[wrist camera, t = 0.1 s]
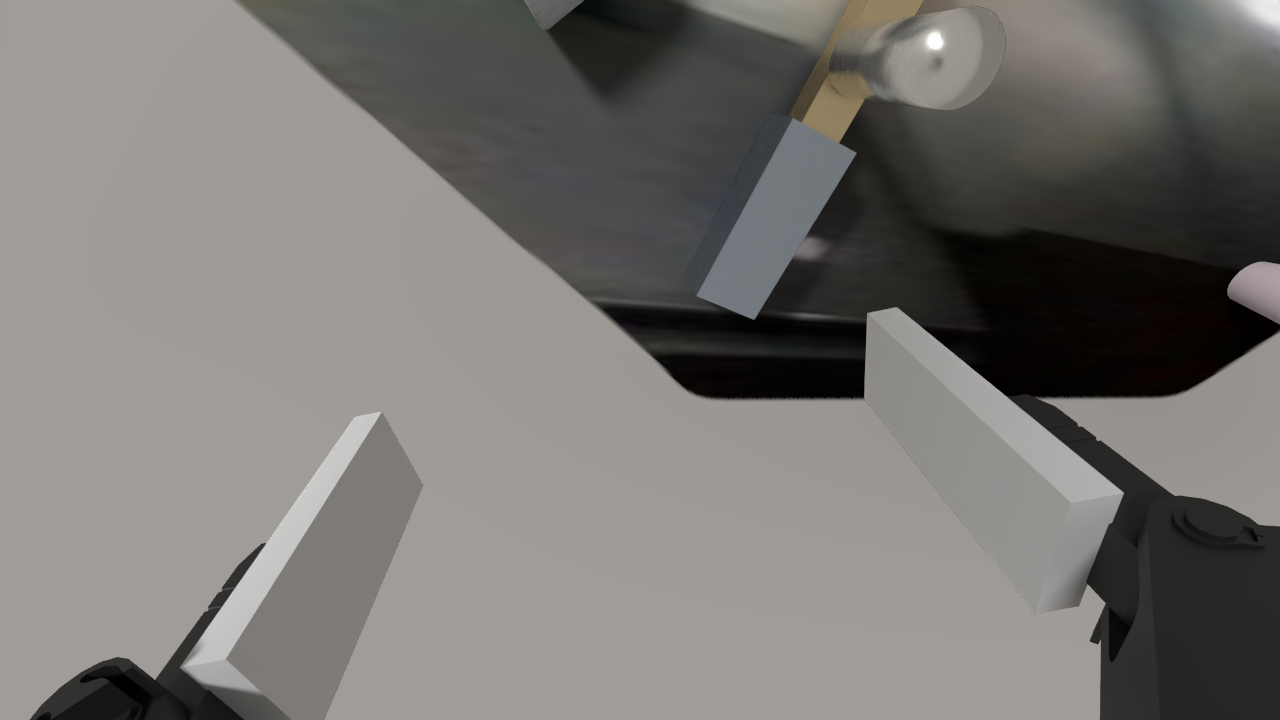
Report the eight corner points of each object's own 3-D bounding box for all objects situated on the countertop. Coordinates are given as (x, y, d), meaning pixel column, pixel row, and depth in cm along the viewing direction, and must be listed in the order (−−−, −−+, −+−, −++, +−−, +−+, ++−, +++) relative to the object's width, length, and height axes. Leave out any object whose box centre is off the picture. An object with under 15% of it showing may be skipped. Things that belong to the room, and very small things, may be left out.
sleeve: (738, 294, 43) (754, 319, 39) (686, 272, 42) (696, 295, 37) (827, 142, 37) (856, 153, 33) (770, 111, 36) (793, 118, 32)
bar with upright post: (748, 275, 41) (804, 354, 30) (705, 256, 40) (746, 330, 29) (939, -51, 31) (1128, -116, 20) (888, -88, 30) (1058, -177, 19)
